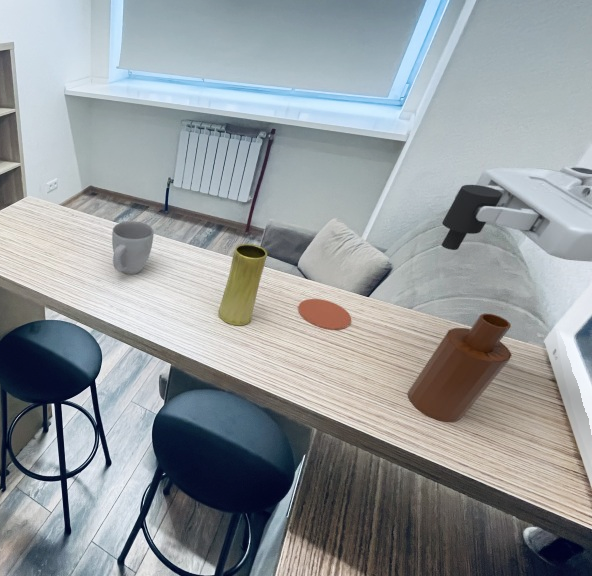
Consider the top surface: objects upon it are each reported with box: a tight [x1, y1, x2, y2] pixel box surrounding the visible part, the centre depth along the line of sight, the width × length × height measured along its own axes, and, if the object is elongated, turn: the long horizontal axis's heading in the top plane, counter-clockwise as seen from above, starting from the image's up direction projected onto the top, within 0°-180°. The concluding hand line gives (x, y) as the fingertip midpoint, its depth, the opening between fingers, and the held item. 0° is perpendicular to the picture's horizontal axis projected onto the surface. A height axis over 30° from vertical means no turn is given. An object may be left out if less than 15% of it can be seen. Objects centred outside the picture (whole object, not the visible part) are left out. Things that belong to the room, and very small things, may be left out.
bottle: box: [407, 313, 512, 423], centre depth 56 cm, size 6×6×16 cm
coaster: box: [297, 298, 352, 331], centre depth 78 cm, size 9×9×1 cm
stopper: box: [441, 184, 503, 251], centre depth 53 cm, size 4×4×8 cm
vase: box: [217, 243, 268, 326], centre depth 74 cm, size 6×6×14 cm
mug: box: [111, 220, 154, 275], centre depth 89 cm, size 12×9×10 cm
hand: (467, 203), depth 52 cm, fingers closed on stopper, 4 cm apart
